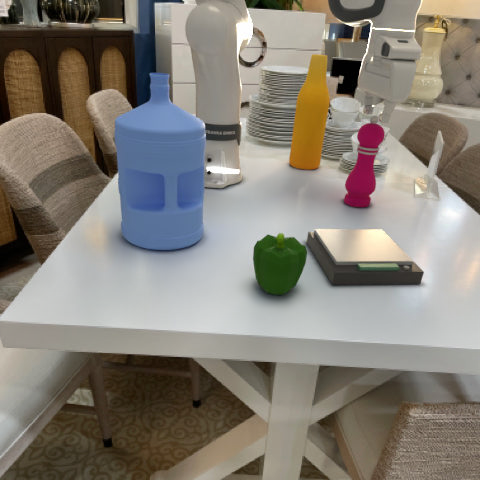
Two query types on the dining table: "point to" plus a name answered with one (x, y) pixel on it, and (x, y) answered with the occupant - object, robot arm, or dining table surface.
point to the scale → (362, 257)
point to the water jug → (160, 172)
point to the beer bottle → (310, 117)
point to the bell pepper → (278, 263)
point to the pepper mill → (364, 165)
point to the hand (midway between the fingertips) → (375, 117)
